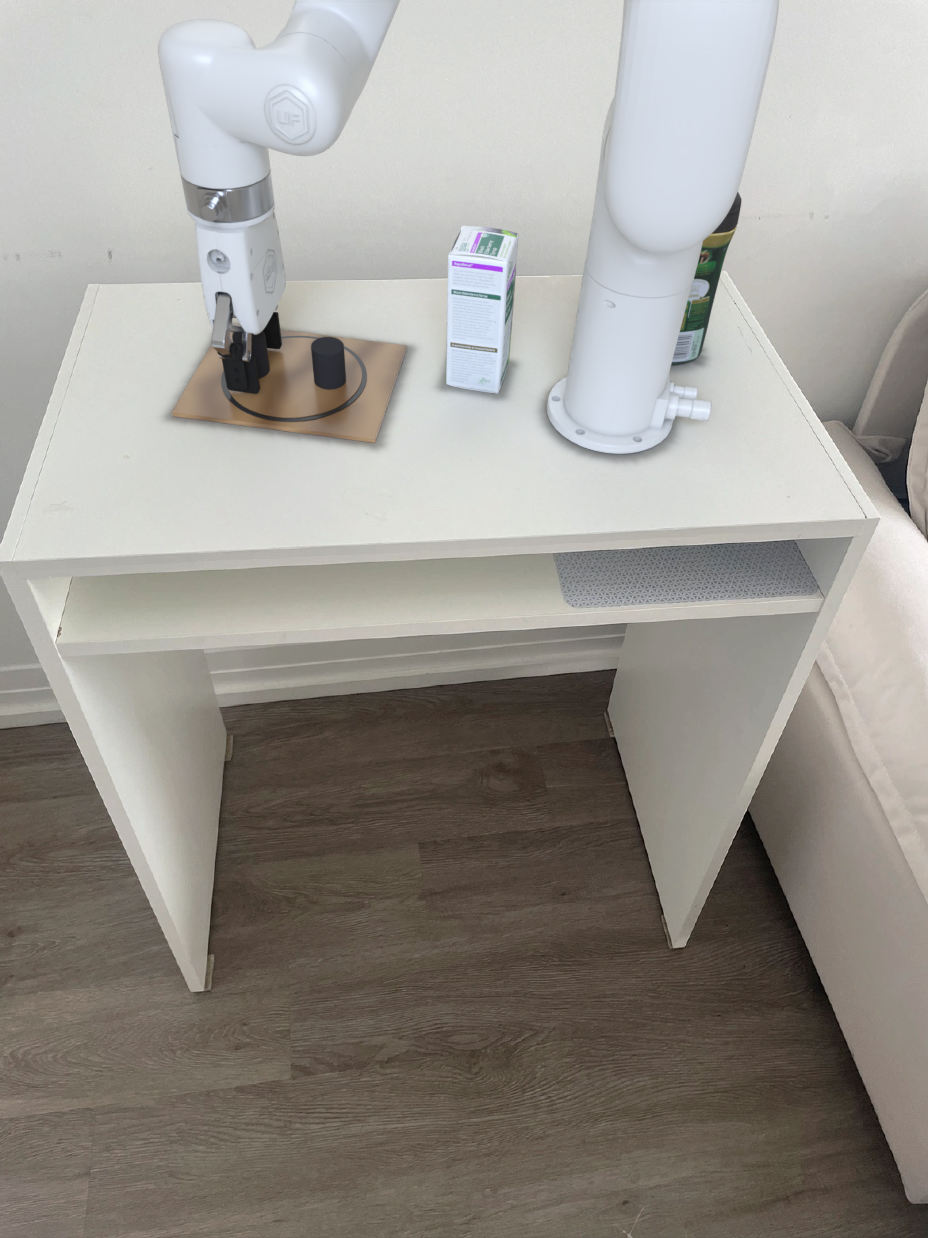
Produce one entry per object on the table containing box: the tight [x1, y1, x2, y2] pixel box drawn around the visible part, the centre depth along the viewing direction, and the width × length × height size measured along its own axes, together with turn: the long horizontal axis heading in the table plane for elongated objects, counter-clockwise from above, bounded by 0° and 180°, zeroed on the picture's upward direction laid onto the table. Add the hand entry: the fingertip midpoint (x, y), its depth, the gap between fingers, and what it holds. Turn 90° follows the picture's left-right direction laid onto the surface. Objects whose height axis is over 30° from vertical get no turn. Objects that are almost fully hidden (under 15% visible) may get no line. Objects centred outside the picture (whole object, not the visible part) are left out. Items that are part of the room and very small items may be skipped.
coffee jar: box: [671, 191, 742, 366], centre depth 93 cm, size 10×8×19 cm
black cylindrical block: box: [311, 337, 346, 390], centre depth 90 cm, size 3×3×4 cm
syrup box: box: [445, 224, 519, 394], centre depth 89 cm, size 6×6×14 cm
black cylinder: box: [232, 331, 270, 379], centre depth 90 cm, size 3×3×4 cm
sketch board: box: [171, 323, 407, 444], centre depth 92 cm, size 20×16×1 cm
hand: (255, 366), depth 92 cm, fingers open, 7 cm apart
